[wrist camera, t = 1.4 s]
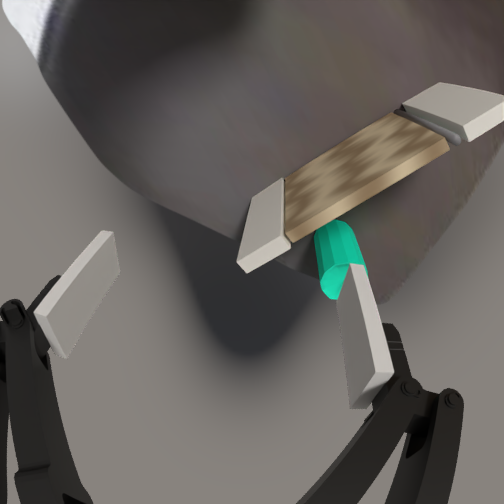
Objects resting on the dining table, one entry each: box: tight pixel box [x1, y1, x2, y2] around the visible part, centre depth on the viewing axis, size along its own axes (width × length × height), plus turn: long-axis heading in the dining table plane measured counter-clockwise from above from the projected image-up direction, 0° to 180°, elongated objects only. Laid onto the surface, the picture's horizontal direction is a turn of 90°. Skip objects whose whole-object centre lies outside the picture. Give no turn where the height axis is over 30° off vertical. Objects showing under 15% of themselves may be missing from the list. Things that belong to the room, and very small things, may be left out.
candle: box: [314, 219, 368, 299], centre depth 39 cm, size 6×6×12 cm
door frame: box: [237, 82, 504, 273], centre depth 29 cm, size 2×31×15 cm, turn 127°
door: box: [285, 113, 450, 243], centre depth 30 cm, size 17×3×15 cm, turn 128°
